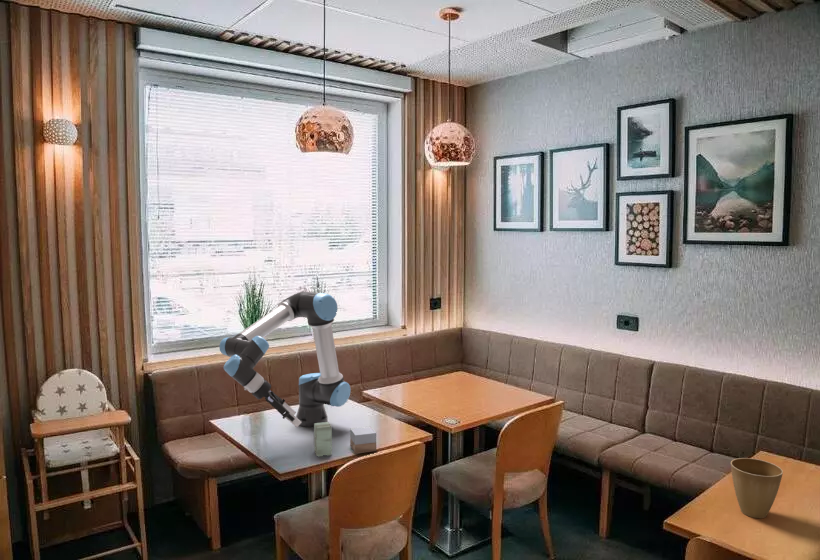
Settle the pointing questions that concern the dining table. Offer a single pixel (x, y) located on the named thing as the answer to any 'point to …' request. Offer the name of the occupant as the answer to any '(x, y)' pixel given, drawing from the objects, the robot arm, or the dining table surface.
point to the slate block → (363, 435)
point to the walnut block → (363, 447)
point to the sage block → (322, 438)
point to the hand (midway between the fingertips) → (296, 419)
